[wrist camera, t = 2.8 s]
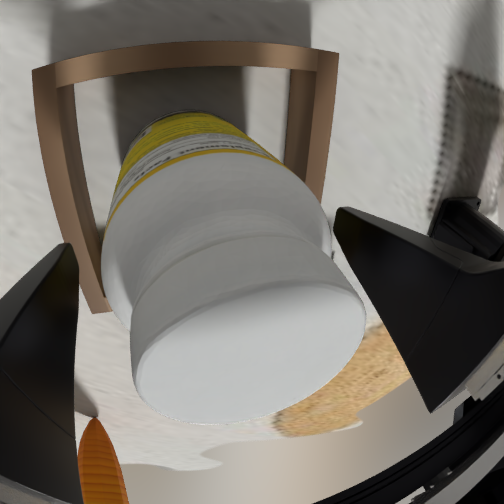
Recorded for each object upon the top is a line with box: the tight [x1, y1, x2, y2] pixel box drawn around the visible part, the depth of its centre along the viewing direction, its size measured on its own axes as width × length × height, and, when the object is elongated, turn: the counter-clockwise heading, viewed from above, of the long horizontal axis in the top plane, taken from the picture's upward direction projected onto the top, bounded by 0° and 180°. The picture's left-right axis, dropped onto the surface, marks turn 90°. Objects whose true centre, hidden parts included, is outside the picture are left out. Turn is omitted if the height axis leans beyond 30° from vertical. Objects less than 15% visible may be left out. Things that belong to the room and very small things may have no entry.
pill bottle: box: [101, 110, 366, 425], centre depth 10 cm, size 6×6×11 cm
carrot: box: [77, 417, 129, 504], centre depth 19 cm, size 5×5×15 cm
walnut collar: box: [32, 41, 339, 314], centre depth 13 cm, size 12×12×2 cm
